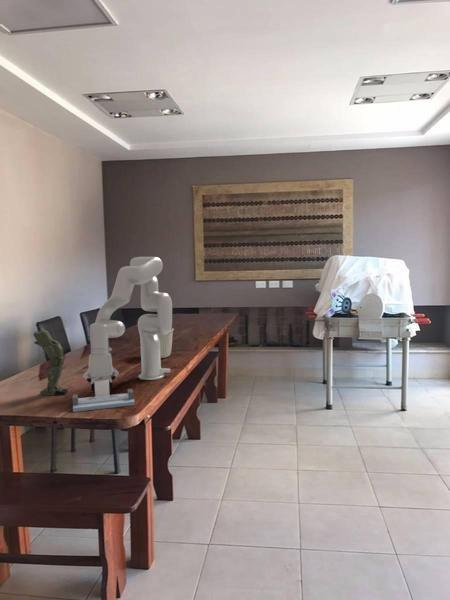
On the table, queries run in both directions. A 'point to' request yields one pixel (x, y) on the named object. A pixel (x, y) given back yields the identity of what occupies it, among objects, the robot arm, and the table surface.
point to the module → (101, 386)
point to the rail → (103, 398)
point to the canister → (165, 344)
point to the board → (103, 405)
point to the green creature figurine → (52, 362)
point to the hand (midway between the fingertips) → (101, 391)
